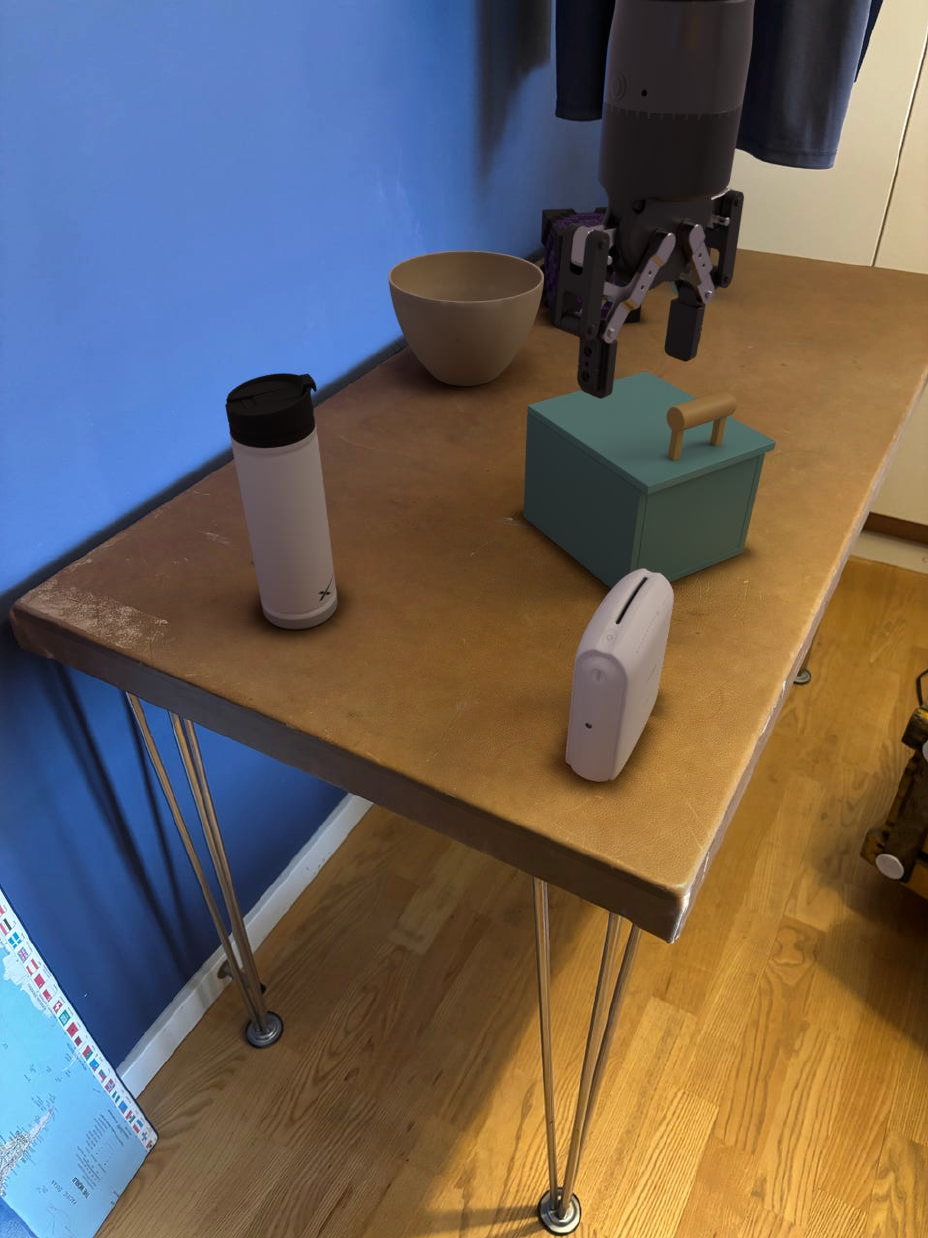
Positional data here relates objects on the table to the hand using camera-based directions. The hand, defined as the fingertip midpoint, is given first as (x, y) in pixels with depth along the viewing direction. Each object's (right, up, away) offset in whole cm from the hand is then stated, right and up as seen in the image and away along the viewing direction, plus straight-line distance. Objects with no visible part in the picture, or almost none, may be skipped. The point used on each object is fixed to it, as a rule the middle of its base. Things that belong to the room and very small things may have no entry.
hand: (639, 374), depth 60 cm
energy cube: (+6, +28, +71) cm, 76 cm away
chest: (+4, -8, +25) cm, 27 cm away
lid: (+4, 0, +18) cm, 19 cm away
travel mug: (-25, -15, +17) cm, 34 cm away
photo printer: (-1, -24, +6) cm, 25 cm away
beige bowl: (-11, +14, +54) cm, 57 cm away
